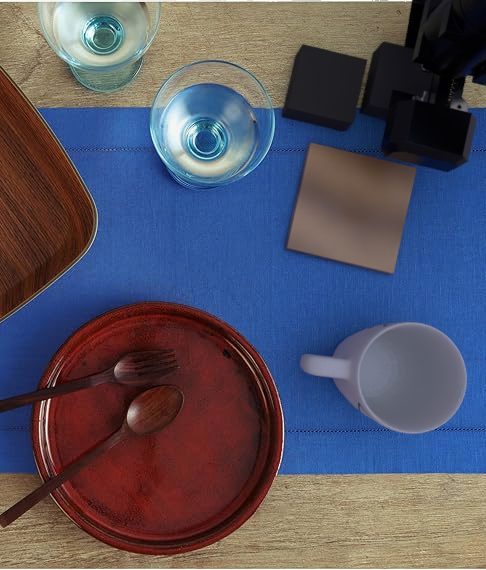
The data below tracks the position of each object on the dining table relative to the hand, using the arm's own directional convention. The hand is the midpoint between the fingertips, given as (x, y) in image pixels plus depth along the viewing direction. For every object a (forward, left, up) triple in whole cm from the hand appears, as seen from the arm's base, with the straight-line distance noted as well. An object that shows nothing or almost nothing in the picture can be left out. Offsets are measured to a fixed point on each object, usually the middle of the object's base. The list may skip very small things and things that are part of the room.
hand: (401, 86), depth 57 cm
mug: (+26, +1, -1) cm, 26 cm away
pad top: (+2, -7, -1) cm, 7 cm away
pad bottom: (0, 0, -1) cm, 1 cm away
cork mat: (+12, -2, -1) cm, 12 cm away
